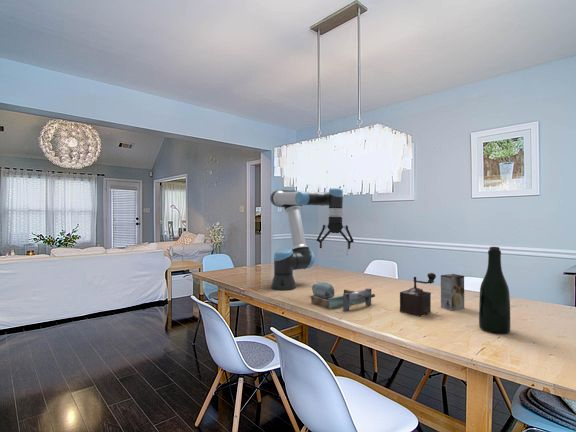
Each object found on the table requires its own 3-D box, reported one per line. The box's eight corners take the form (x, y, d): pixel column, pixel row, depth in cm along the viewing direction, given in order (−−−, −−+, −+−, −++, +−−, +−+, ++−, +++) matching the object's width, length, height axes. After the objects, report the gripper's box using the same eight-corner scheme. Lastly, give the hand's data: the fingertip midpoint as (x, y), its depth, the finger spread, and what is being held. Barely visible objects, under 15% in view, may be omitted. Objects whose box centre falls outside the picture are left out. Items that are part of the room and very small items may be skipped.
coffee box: (453, 305, 163) (453, 273, 162) (464, 308, 157) (464, 275, 157) (440, 307, 159) (440, 274, 159) (451, 311, 153) (451, 277, 153)
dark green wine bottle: (515, 331, 126) (515, 247, 126) (502, 336, 120) (502, 248, 120) (487, 323, 135) (487, 245, 135) (473, 328, 129) (473, 246, 129)
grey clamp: (342, 309, 154) (342, 293, 154) (370, 302, 167) (370, 287, 167) (347, 311, 151) (347, 294, 151) (376, 304, 164) (376, 288, 164)
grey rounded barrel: (340, 292, 176) (331, 276, 175) (330, 302, 171) (321, 287, 170) (324, 293, 187) (316, 278, 186) (314, 303, 181) (305, 288, 181)
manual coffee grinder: (421, 317, 143) (421, 276, 143) (399, 311, 152) (399, 273, 152) (437, 310, 153) (438, 272, 153) (415, 305, 162) (416, 269, 162)
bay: (311, 302, 167) (311, 293, 167) (345, 295, 182) (345, 286, 182) (330, 309, 155) (330, 298, 155) (365, 300, 170) (365, 291, 170)
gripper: (312, 216, 176) (311, 254, 176) (359, 216, 172) (358, 256, 173) (313, 215, 183) (312, 252, 184) (357, 216, 180) (357, 254, 180)
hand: (334, 254), depth 178 cm, fingers open, 13 cm apart
